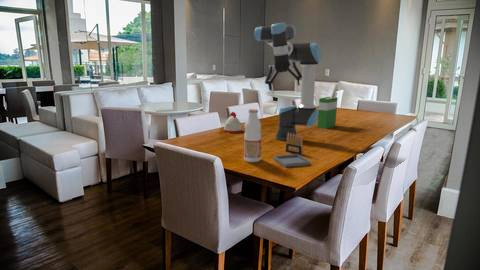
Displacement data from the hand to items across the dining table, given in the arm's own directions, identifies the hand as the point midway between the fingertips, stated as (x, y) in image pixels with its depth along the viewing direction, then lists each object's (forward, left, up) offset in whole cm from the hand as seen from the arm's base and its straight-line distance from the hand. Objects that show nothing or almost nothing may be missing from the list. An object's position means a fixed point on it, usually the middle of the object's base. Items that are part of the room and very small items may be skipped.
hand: (285, 93), depth 178 cm
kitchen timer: (+6, -75, -36) cm, 84 cm away
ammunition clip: (-11, -7, -36) cm, 39 cm away
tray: (-1, +9, -36) cm, 37 cm away
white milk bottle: (+18, -1, -36) cm, 41 cm away
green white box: (-74, -69, -36) cm, 107 cm away
